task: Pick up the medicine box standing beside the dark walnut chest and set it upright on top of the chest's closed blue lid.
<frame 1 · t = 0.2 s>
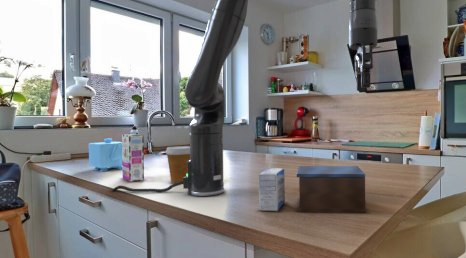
hand: (363, 89, 81), 29 cm above the worktop, tool pointing down, fingers open, 8 cm apart
medicine box: (272, 207, 71), on the worktop
teapot: (110, 169, 132), on the worktop
disposable coffee cup: (181, 182, 102), on the worktop
chest: (330, 205, 72), on the worktop
candy bar box: (133, 179, 108), on the worktop
chest lid: (329, 171, 71), point 8 cm above the worktop, hinge at 0.0°
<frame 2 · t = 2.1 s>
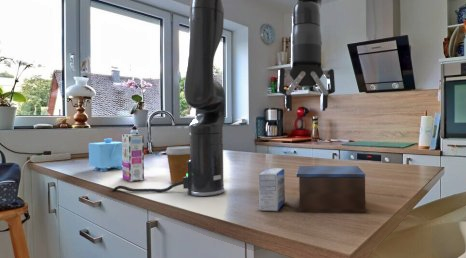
hand: (306, 110, 74), 23 cm above the worktop, tool pointing down, fingers open, 8 cm apart
nothing on the worktop moved.
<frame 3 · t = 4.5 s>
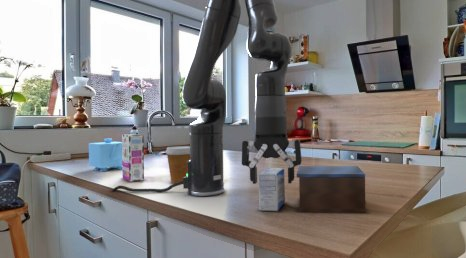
hand: (272, 182, 71), 6 cm above the worktop, tool pointing down, fingers open, 8 cm apart
chest lid: (329, 171, 71), point 8 cm above the worktop, hinge at -0.2°, touching chest
everything else where it was.
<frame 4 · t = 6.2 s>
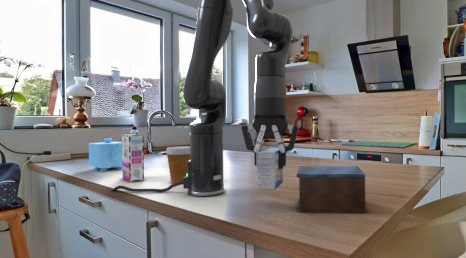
hand: (270, 167, 71), 9 cm above the worktop, tool pointing down, fingers closed on medicine box, 4 cm apart
medicine box: (270, 186, 71), point 5 cm above the worktop, touching gripper
everything else where it was.
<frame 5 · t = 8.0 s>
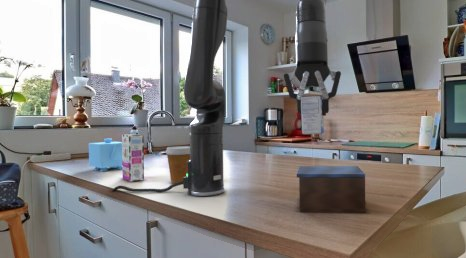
hand: (313, 115, 71), 22 cm above the worktop, tool pointing down, fingers closed on medicine box, 4 cm apart
medicine box: (313, 134, 71), point 17 cm above the worktop, touching gripper
everything else where it was.
when the fingers open (13 cm above the worktop, at t = 11.2 s): medicine box stays where it is, resting on chest lid.
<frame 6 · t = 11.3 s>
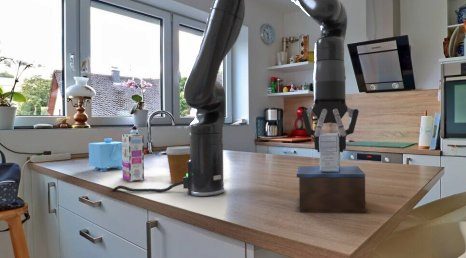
hand: (329, 151, 71), 13 cm above the worktop, tool pointing down, fingers open, 4 cm apart
medicine box: (330, 170, 71), point 8 cm above the worktop, touching chest lid
chest lid: (329, 171, 71), point 8 cm above the worktop, hinge at -0.2°, touching chest, medicine box
everything else where it was.
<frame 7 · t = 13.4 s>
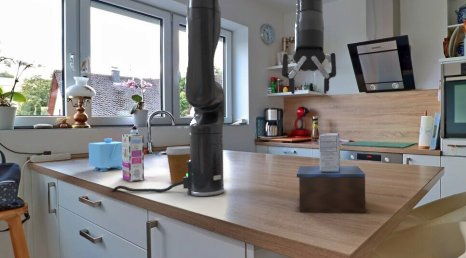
hand: (308, 93, 78), 28 cm above the worktop, tool pointing down, fingers open, 8 cm apart
nothing on the worktop moved.
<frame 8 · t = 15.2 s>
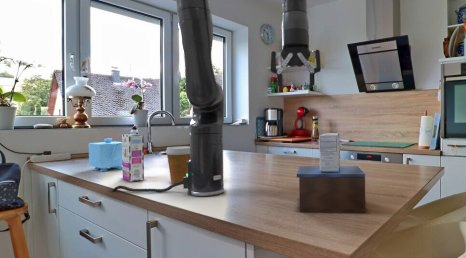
hand: (296, 87, 85), 30 cm above the worktop, tool pointing down, fingers open, 8 cm apart
nothing on the worktop moved.
at the end: medicine box inside the target area on the chest (0.1 cm from its centre), point 8.4 cm above the chest's base; medicine box tilted 0°; chest lid at +0° (first picture: +0°) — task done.
